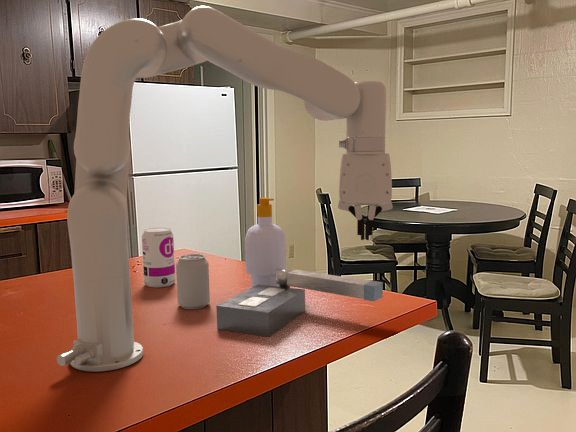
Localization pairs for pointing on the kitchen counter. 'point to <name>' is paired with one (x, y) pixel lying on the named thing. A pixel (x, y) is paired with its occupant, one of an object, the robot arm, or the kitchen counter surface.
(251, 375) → the kitchen counter surface
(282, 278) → the bar
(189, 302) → the can
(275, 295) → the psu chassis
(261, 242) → the soap bottle
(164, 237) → the supplement can
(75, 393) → the kitchen counter surface
